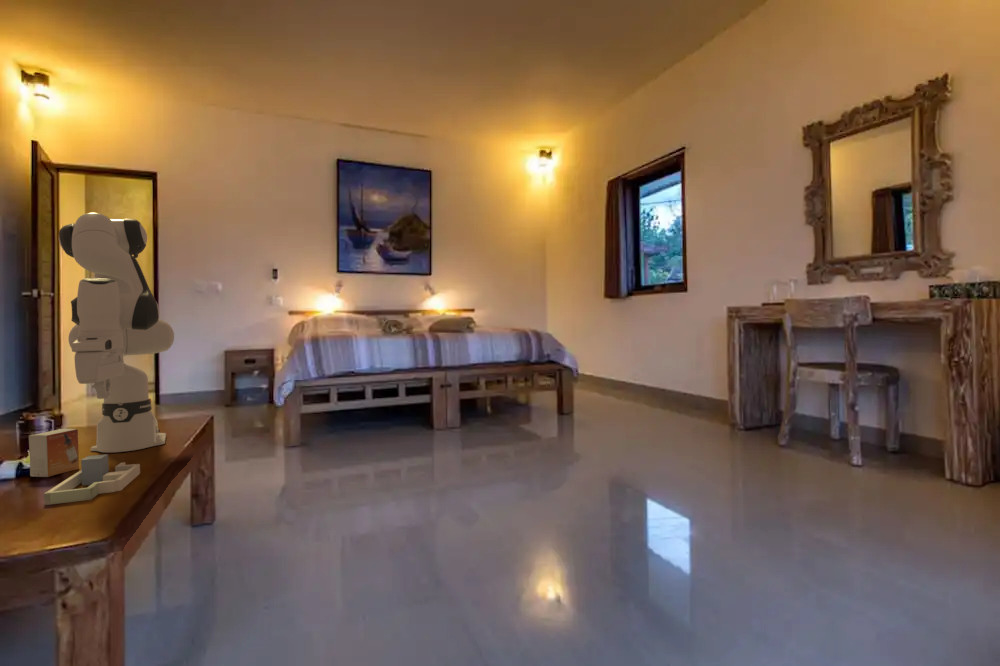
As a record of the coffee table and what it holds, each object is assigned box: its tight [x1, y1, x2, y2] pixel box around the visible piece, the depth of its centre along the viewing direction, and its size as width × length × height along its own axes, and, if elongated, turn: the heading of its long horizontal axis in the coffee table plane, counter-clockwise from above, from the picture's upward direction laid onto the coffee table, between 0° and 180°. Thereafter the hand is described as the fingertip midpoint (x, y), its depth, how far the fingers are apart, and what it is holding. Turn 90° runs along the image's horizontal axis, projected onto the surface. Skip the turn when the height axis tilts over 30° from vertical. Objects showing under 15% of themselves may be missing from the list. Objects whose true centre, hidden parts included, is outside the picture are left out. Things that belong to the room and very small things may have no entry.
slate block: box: [80, 453, 110, 487], centre depth 122 cm, size 4×4×6 cm
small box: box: [28, 428, 80, 478], centre depth 130 cm, size 8×6×10 cm
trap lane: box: [43, 461, 141, 506], centre depth 119 cm, size 22×12×2 cm, turn 20°
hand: (103, 397), depth 128 cm, fingers closed
